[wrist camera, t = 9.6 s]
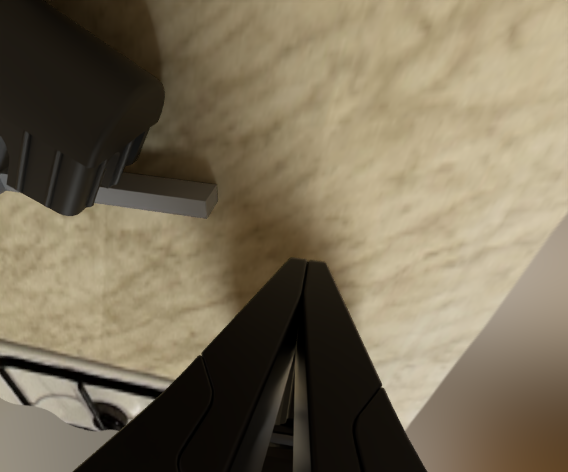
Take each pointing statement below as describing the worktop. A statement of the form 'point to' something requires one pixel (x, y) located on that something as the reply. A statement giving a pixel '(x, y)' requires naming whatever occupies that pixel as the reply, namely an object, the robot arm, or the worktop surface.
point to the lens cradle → (144, 192)
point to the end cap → (68, 107)
